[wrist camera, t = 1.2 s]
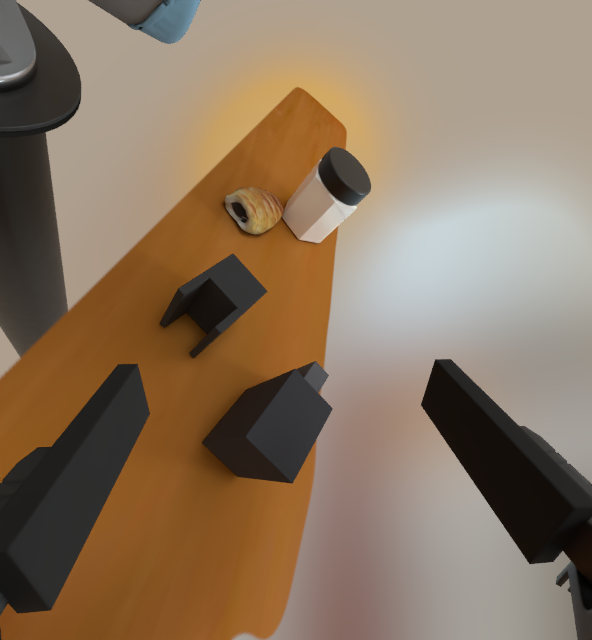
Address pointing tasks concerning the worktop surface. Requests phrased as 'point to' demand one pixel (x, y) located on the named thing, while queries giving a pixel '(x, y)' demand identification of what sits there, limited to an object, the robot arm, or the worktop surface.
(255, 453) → the block
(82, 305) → the worktop surface
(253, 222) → the pastry
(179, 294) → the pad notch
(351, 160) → the jar
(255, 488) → the worktop surface
